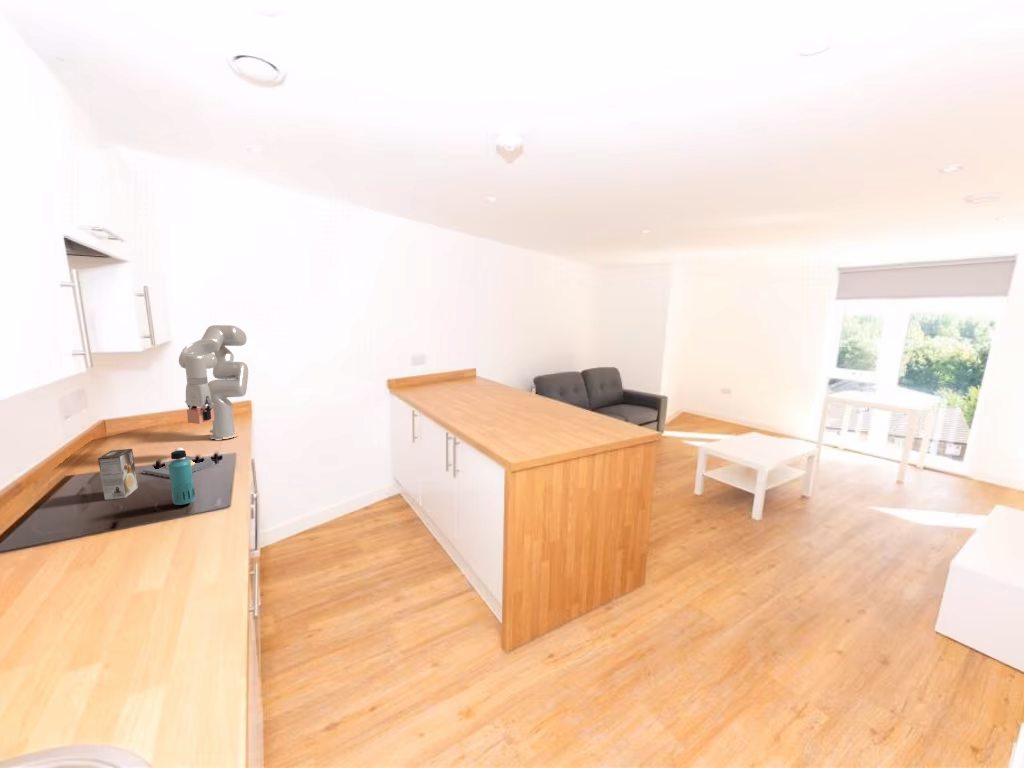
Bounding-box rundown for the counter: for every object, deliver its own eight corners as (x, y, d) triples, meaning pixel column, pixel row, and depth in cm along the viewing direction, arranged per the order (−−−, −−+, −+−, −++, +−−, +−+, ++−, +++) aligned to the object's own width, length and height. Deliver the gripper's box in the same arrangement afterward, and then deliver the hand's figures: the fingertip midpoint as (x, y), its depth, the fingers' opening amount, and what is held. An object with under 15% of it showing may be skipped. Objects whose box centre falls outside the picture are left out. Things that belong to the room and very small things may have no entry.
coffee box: (117, 490, 155) (111, 449, 152) (138, 487, 157) (132, 448, 154) (103, 500, 146) (97, 458, 144) (126, 497, 149) (120, 456, 146)
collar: (188, 422, 187) (186, 409, 186) (203, 419, 194) (201, 406, 193) (199, 423, 186) (198, 411, 185) (214, 420, 192) (213, 408, 191)
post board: (143, 473, 170) (140, 451, 169) (187, 458, 188) (185, 439, 186) (174, 478, 166) (172, 457, 164) (217, 463, 183) (215, 443, 181)
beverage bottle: (183, 510, 141) (176, 455, 138) (167, 507, 142) (160, 453, 139) (200, 501, 147) (195, 449, 144) (185, 499, 149) (179, 447, 145)
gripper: (174, 381, 185) (178, 419, 188) (203, 383, 181) (207, 422, 184) (191, 379, 193) (195, 415, 195) (219, 381, 188) (223, 418, 191)
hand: (201, 418), depth 190 cm, fingers closed on collar, 7 cm apart
